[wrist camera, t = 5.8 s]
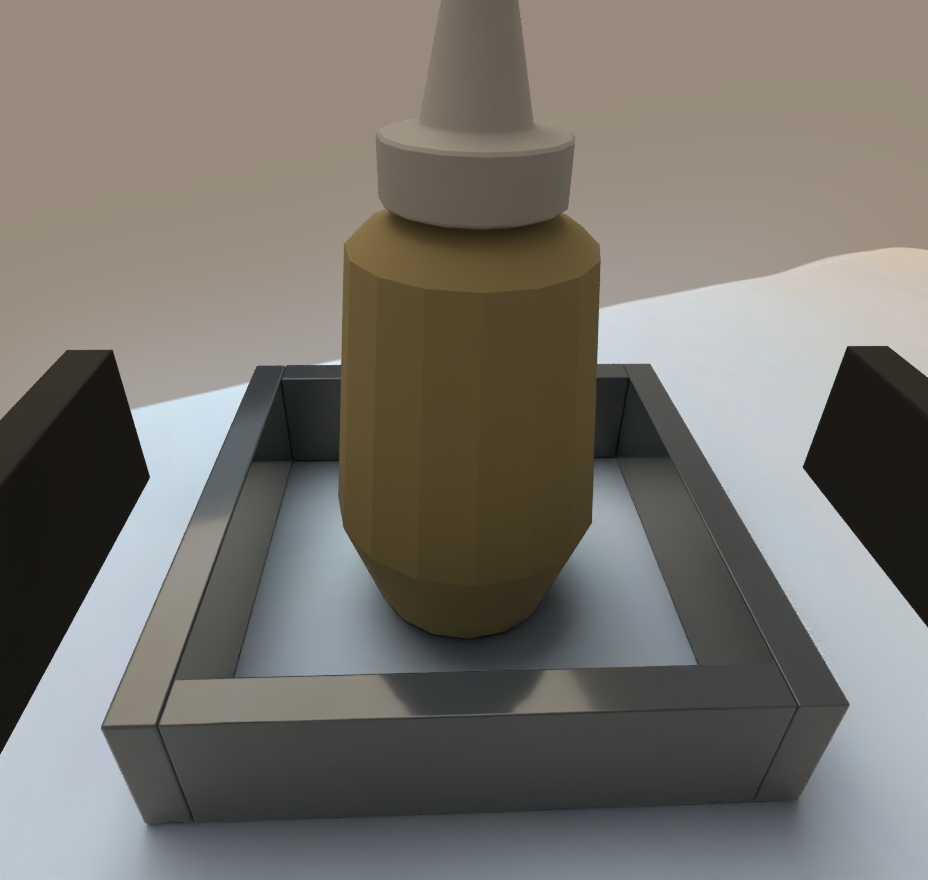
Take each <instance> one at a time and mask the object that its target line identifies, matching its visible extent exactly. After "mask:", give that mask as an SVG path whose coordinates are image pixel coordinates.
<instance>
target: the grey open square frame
mask: <svg viewBox="0 0 928 880" xmlns="http://www.w3.org/2000/svg"><path fill="white" fill-rule="evenodd" d="M340 404H341V365H287V366H286V367H285V366H257V367H256V369H255V371H254V374H253V376H252V378H251V380H250V383H249V385H248V387H247V390H246V392H245V394H244V397H243V399H242V401H241V404H240V406H239V408H238V411H237V413H236V415H235V418H234V420H233V422H232V424H231V427H230V429H229V431H228V434H227V436H226V438H225V441H224V443H223V445H222V448H221V450H220V452H219V455H218V457H217V459H216V462H215V464H214V466H213V468H212V471H211V473H210V475H209V478H208V480H207V482H206V485H205V487H204V489H203V492H202V494H201V496H200V499H199V501H198V503H197V505H196V508H195V510H194V512H193V515H192V517H191V519H190V522H189V524H188V526H187V529H186V531H185V533H184V536H183V538H182V540H181V543H180V545H179V547H178V549H177V552H176V554H175V556H174V559H173V561H172V563H171V566H170V568H169V570H168V573H167V575H166V577H165V580H164V582H163V584H162V587H161V589H160V591H159V593H158V596H157V598H156V600H155V603H154V605H153V607H152V610H151V612H150V614H149V617H148V619H147V621H146V624H145V626H144V628H143V631H142V633H141V635H140V637H139V640H138V642H137V644H136V647H135V649H134V651H133V654H132V656H131V658H130V661H129V663H128V665H127V668H126V670H125V672H124V675H123V677H122V679H121V681H120V684H119V686H118V688H117V691H116V693H115V695H114V698H113V700H112V702H111V705H110V707H109V709H108V712H107V714H106V716H105V719H104V721H103V723H102V726H101V730H102V732H103V734H104V736H105V739H106V741H107V743H108V745H109V747H110V749H111V751H112V754H113V756H114V758H115V760H116V762H117V764H118V767H119V769H120V771H121V773H122V775H123V777H124V779H125V782H126V784H127V786H128V788H129V790H130V792H131V795H132V797H133V799H134V801H135V803H136V805H137V807H138V810H139V812H140V814H141V816H142V818H143V820H144V823H146V824H160V823H186V822H193V820H194V822H196V823H200V822H226V821H253V820H279V819H305V818H332V817H358V816H384V815H411V814H437V813H463V812H490V811H516V810H542V809H568V808H595V807H621V806H647V805H674V804H700V803H726V802H751V801H781V800H798V799H799V797H800V795H801V794H802V792H803V790H804V788H805V786H806V784H807V783H808V781H809V779H810V777H811V775H812V773H813V772H814V770H815V768H816V766H817V764H818V762H819V761H820V759H821V757H822V755H823V753H824V751H825V750H826V748H827V746H828V744H829V742H830V740H831V739H832V737H833V735H834V733H835V731H836V730H837V728H838V726H839V724H840V722H841V720H842V719H843V717H844V715H845V713H846V711H847V709H848V708H849V702H848V701H847V699H846V697H845V695H844V694H843V692H842V690H841V689H840V687H839V685H838V683H837V682H836V680H835V678H834V677H833V675H832V673H831V672H830V670H829V668H828V666H827V665H826V663H825V661H824V660H823V658H822V656H821V654H820V653H819V651H818V649H817V648H816V646H815V644H814V643H813V641H812V639H811V637H810V636H809V634H808V632H807V631H806V629H805V627H804V625H803V624H802V622H801V620H800V619H799V617H798V615H797V614H796V612H795V610H794V608H793V607H792V605H791V603H790V602H789V600H788V598H787V596H786V595H785V593H784V591H783V590H782V588H781V586H780V585H779V583H778V581H777V579H776V578H775V576H774V574H773V573H772V571H771V569H770V567H769V566H768V564H767V562H766V561H765V559H764V557H763V556H762V554H761V552H760V550H759V549H758V547H757V545H756V544H755V542H754V540H753V538H752V537H751V535H750V533H749V532H748V530H747V528H746V527H745V525H744V523H743V521H742V520H741V518H740V516H739V515H738V513H737V511H736V509H735V508H734V506H733V504H732V503H731V501H730V499H729V498H728V496H727V494H726V492H725V491H724V489H723V487H722V486H721V484H720V482H719V480H718V479H717V477H716V475H715V474H714V472H713V470H712V469H711V467H710V465H709V463H708V462H707V460H706V458H705V457H704V455H703V453H702V451H701V450H700V448H699V446H698V445H697V443H696V441H695V440H694V438H693V436H692V434H691V433H690V431H689V429H688V428H687V426H686V424H685V422H684V421H683V419H682V417H681V416H680V414H679V412H678V411H677V409H676V407H675V405H674V404H673V402H672V400H671V399H670V397H669V395H668V393H667V392H666V390H665V388H664V387H663V385H662V383H661V382H660V380H659V378H658V376H657V375H656V373H655V371H654V370H653V368H652V366H651V364H623V365H622V364H597V379H596V409H595V439H594V457H616V459H617V462H618V464H619V467H620V469H621V472H622V474H623V477H624V479H625V482H626V484H627V487H628V489H629V492H630V494H631V497H632V499H633V502H634V504H635V507H636V509H637V512H638V514H639V517H640V519H641V522H642V524H643V527H644V529H645V532H646V534H647V537H648V539H649V542H650V544H651V547H652V549H653V552H654V554H655V557H656V559H657V562H658V564H659V567H660V569H661V572H662V574H663V577H664V579H665V582H666V584H667V587H668V589H669V592H670V594H671V597H672V599H673V602H674V604H675V607H676V609H677V612H678V614H679V617H680V619H681V622H682V624H683V627H684V629H685V632H686V634H687V637H688V639H689V642H690V644H691V647H692V649H693V652H694V654H695V657H696V659H697V662H698V664H699V665H685V666H649V667H613V668H576V669H540V670H503V671H467V672H430V673H394V674H357V675H321V676H284V677H248V678H233V676H234V672H235V668H236V665H237V661H238V657H239V654H240V650H241V646H242V643H243V639H244V635H245V632H246V628H247V625H248V621H249V617H250V614H251V610H252V606H253V603H254V599H255V595H256V592H257V588H258V584H259V581H260V577H261V573H262V570H263V566H264V562H265V559H266V555H267V551H268V548H269V544H270V540H271V537H272V533H273V529H274V526H275V522H276V518H277V515H278V511H279V507H280V504H281V500H282V497H283V493H284V489H285V486H286V482H287V478H288V475H289V471H290V467H291V464H292V460H294V461H303V460H339V448H340Z"/></svg>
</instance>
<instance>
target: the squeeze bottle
mask: <svg viewBox="0 0 928 880" xmlns="http://www.w3.org/2000/svg"><path fill="white" fill-rule="evenodd" d="M574 146H575V136H574V135H573V133H571V132H569V131H567V130H565V129H563V128H561V127H559V126H555V125H550V124H546V123H542V122H537V121H533V116H532V107H531V99H530V91H529V83H528V75H527V67H526V59H525V50H524V43H523V34H522V26H521V18H520V10H519V2H518V0H441V4H440V9H439V15H438V20H437V26H436V32H435V37H434V42H433V48H432V54H431V59H430V64H429V70H428V75H427V81H426V86H425V92H424V97H423V103H422V108H421V114H420V118H417V119H407V120H403V121H399V122H395V123H390V124H387V125H386V126H384V127H383V128H382V129H380V130H379V131H378V132H377V134H376V152H377V173H378V194H379V199H380V200H381V202H382V204H383V206H384V207H385V208H386V209H385V210H382V211H380V212H377V213H374V214H373V215H372V216H371V217H370V218H369V219H368V220H367V221H366V222H365V223H363V224H362V225H361V227H359V228H358V229H357V230H356V231H355V232H354V234H353V235H352V236H351V237H350V238H349V239H348V240H347V241H346V242H345V243H344V272H343V273H344V274H343V275H344V276H343V316H342V317H343V318H342V360H341V404H340V448H339V492H338V496H339V502H340V509H341V515H342V521H343V527H344V530H345V531H346V533H347V535H348V536H349V538H350V540H351V542H352V543H353V545H354V547H355V549H356V550H357V552H358V554H359V555H360V557H361V559H362V561H363V562H364V564H365V566H366V567H367V569H368V571H369V573H370V574H371V576H372V578H373V580H374V581H375V583H376V585H377V586H378V588H379V590H380V592H381V593H382V595H383V597H384V598H385V599H386V600H387V602H388V603H389V604H390V605H391V606H392V607H393V609H394V610H395V611H396V612H397V613H398V614H399V616H400V617H401V618H402V619H403V620H405V621H407V622H409V623H411V624H413V625H415V626H417V627H419V628H421V629H423V630H425V631H427V632H429V633H432V634H436V635H444V636H452V637H459V638H467V639H470V638H475V637H481V636H486V635H491V634H496V633H502V632H505V631H507V630H508V629H510V628H512V627H513V626H515V625H517V624H518V623H520V622H522V621H523V620H525V619H527V618H528V617H530V616H532V614H533V613H534V611H535V610H536V608H537V607H538V605H539V604H540V602H541V601H542V599H543V598H544V596H545V595H546V593H547V592H548V590H549V588H550V587H551V585H552V584H553V582H554V581H555V579H556V578H557V576H558V575H559V573H560V571H561V570H562V568H563V567H564V565H565V564H566V562H567V561H568V559H569V558H570V556H571V554H572V553H573V551H574V550H575V548H576V547H577V545H578V544H579V542H580V540H581V539H582V537H583V536H584V534H585V533H586V531H587V530H588V528H589V527H590V525H591V523H592V498H593V469H594V439H595V409H596V379H597V350H598V320H599V290H600V289H599V287H600V247H599V244H598V243H597V242H596V241H595V240H594V238H593V237H592V236H591V235H590V234H589V233H588V232H587V231H586V230H585V229H584V228H583V227H582V226H581V225H579V224H578V223H577V222H575V221H574V220H573V219H571V218H570V217H569V216H567V215H566V214H563V212H564V211H566V210H567V209H568V204H569V193H570V184H571V174H572V166H573V156H574Z"/></svg>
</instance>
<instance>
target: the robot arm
mask: <svg viewBox="0 0 928 880" xmlns="http://www.w3.org/2000/svg"><path fill="white" fill-rule="evenodd" d="M803 469H804V470H805V471H806V472H807V474H808V475H809V476H810V478H811V479H812V480H813V481H814V483H815V484H816V485H817V486H818V488H819V489H820V490H821V492H822V493H823V494H824V495H825V497H826V498H827V499H828V501H829V502H830V503H831V504H832V506H833V507H834V508H835V509H836V511H837V512H838V513H839V515H840V516H841V517H842V518H843V520H844V521H845V522H846V523H847V525H848V526H849V527H850V529H851V530H852V531H853V532H854V534H855V535H856V536H857V538H858V539H859V540H860V541H861V543H862V544H863V545H864V546H865V548H866V549H867V550H868V552H869V553H870V554H871V555H872V557H873V558H874V559H875V561H876V562H877V563H878V564H879V566H880V567H881V568H882V569H883V571H884V572H885V573H886V575H887V576H888V577H889V578H890V580H891V581H892V582H893V584H894V585H895V586H896V587H897V589H898V590H899V591H900V592H901V594H902V595H903V596H904V598H905V599H906V600H907V601H908V603H909V604H910V605H911V607H912V608H913V609H914V610H915V612H916V613H917V614H918V615H919V617H920V618H921V619H922V621H923V622H924V623H925V624H926V626H927V627H928V377H926V376H925V375H924V374H922V373H921V372H920V371H919V370H917V369H916V368H915V367H914V366H912V365H911V364H910V363H908V362H907V361H906V360H905V359H903V358H902V357H901V356H900V355H898V354H897V353H896V352H894V351H893V350H892V349H891V348H889V347H888V346H847V349H846V351H845V354H844V357H843V359H842V362H841V365H840V368H839V370H838V373H837V376H836V379H835V381H834V384H833V387H832V389H831V392H830V395H829V398H828V400H827V403H826V406H825V408H824V411H823V414H822V417H821V419H820V422H819V425H818V427H817V430H816V433H815V436H814V438H813V441H812V444H811V446H810V449H809V452H808V455H807V457H806V460H805V463H804V465H803ZM149 478H150V476H149V472H148V469H147V465H146V462H145V459H144V455H143V452H142V448H141V445H140V441H139V438H138V435H137V431H136V428H135V424H134V421H133V418H132V414H131V411H130V408H129V404H128V401H127V397H126V394H125V391H124V387H123V384H122V381H121V377H120V373H119V370H118V367H117V363H116V360H115V357H114V353H113V350H67V351H66V352H65V353H64V354H63V355H62V356H61V357H60V358H59V359H58V360H57V361H56V362H55V363H54V365H52V366H51V367H50V368H49V369H48V371H47V372H46V373H45V374H44V375H43V376H42V377H41V378H40V379H39V380H38V381H37V382H36V383H35V384H34V385H33V386H32V388H30V389H29V391H28V392H27V393H26V394H25V395H24V396H23V397H22V398H21V399H20V400H19V401H18V402H17V403H16V404H15V405H14V406H13V407H12V408H11V409H10V411H9V412H8V413H7V414H6V415H5V416H4V417H3V418H2V419H1V420H0V754H1V752H2V750H3V748H4V747H5V745H6V743H7V741H8V739H9V737H10V736H11V734H12V732H13V730H14V728H15V726H16V724H17V723H18V721H19V719H20V717H21V715H22V713H23V711H24V710H25V708H26V706H27V704H28V702H29V700H30V699H31V697H32V695H33V693H34V691H35V689H36V687H37V686H38V684H39V682H40V680H41V678H42V676H43V675H44V673H45V671H46V669H47V667H48V665H49V663H50V662H51V660H52V658H53V656H54V654H55V652H56V650H57V649H58V647H59V645H60V643H61V641H62V639H63V638H64V636H65V634H66V632H67V630H68V628H69V626H70V625H71V623H72V621H73V619H74V617H75V615H76V613H77V612H78V610H79V608H80V606H81V604H82V602H83V601H84V599H85V597H86V595H87V593H88V591H89V589H90V588H91V586H92V584H93V582H94V580H95V578H96V576H97V575H98V573H99V571H100V569H101V567H102V565H103V564H104V562H105V560H106V558H107V556H108V554H109V552H110V551H111V549H112V547H113V545H114V543H115V541H116V540H117V538H118V536H119V534H120V532H121V530H122V528H123V527H124V525H125V523H126V521H127V519H128V517H129V515H130V514H131V512H132V510H133V508H134V506H135V504H136V503H137V501H138V499H139V497H140V495H141V493H142V491H143V490H144V488H145V486H146V484H147V482H148V480H149Z"/></svg>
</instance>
